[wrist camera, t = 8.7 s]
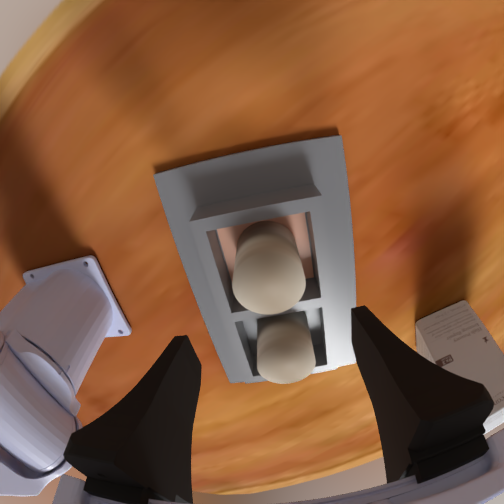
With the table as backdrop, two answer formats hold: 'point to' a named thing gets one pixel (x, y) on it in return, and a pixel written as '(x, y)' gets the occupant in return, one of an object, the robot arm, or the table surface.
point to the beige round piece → (284, 348)
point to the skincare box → (464, 351)
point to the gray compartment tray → (267, 209)
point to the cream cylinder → (268, 269)
